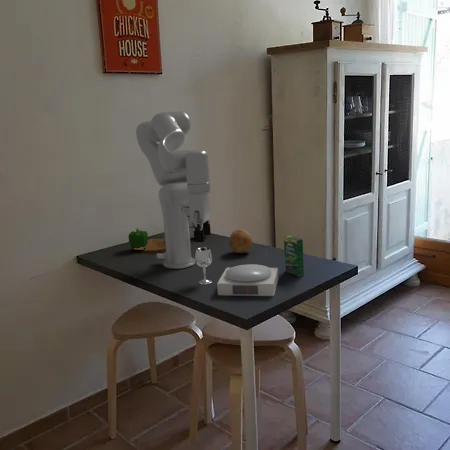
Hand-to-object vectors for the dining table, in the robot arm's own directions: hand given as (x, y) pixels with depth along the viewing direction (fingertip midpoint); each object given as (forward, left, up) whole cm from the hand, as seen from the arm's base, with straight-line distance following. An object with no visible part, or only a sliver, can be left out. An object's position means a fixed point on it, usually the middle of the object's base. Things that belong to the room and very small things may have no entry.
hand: (202, 238), depth 174 cm
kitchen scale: (+16, -3, -16) cm, 23 cm away
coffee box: (+30, +11, -16) cm, 35 cm away
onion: (+7, +36, -16) cm, 39 cm away
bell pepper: (-39, +41, -16) cm, 59 cm away
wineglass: (0, +1, -16) cm, 16 cm away
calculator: (-19, +60, -16) cm, 65 cm away
